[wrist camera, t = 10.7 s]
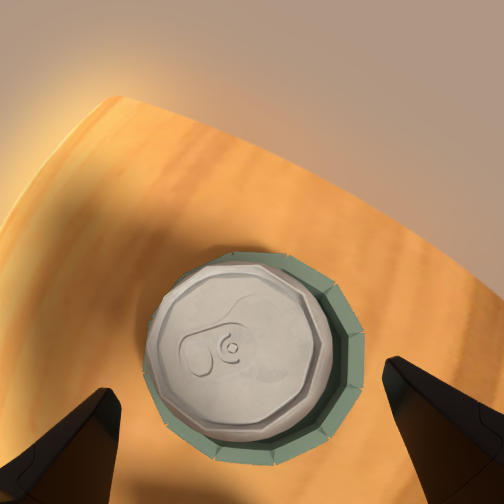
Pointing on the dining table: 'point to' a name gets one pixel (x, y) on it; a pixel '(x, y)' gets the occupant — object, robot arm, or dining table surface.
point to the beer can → (239, 351)
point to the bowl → (330, 402)
